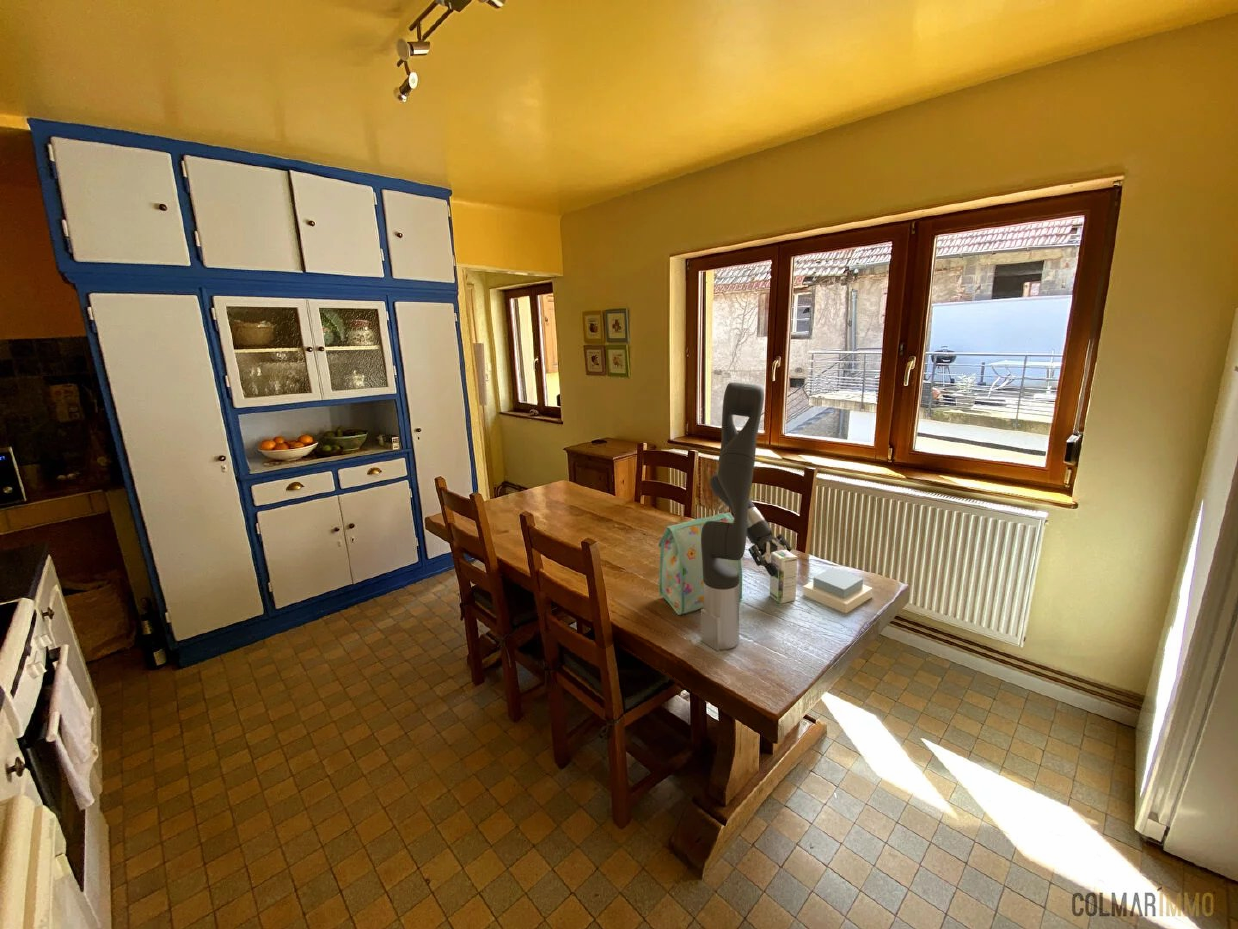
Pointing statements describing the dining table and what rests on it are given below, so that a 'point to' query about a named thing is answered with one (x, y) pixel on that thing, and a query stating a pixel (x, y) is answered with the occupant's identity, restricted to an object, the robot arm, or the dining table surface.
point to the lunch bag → (687, 564)
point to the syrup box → (783, 576)
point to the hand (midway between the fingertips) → (783, 571)
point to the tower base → (837, 600)
